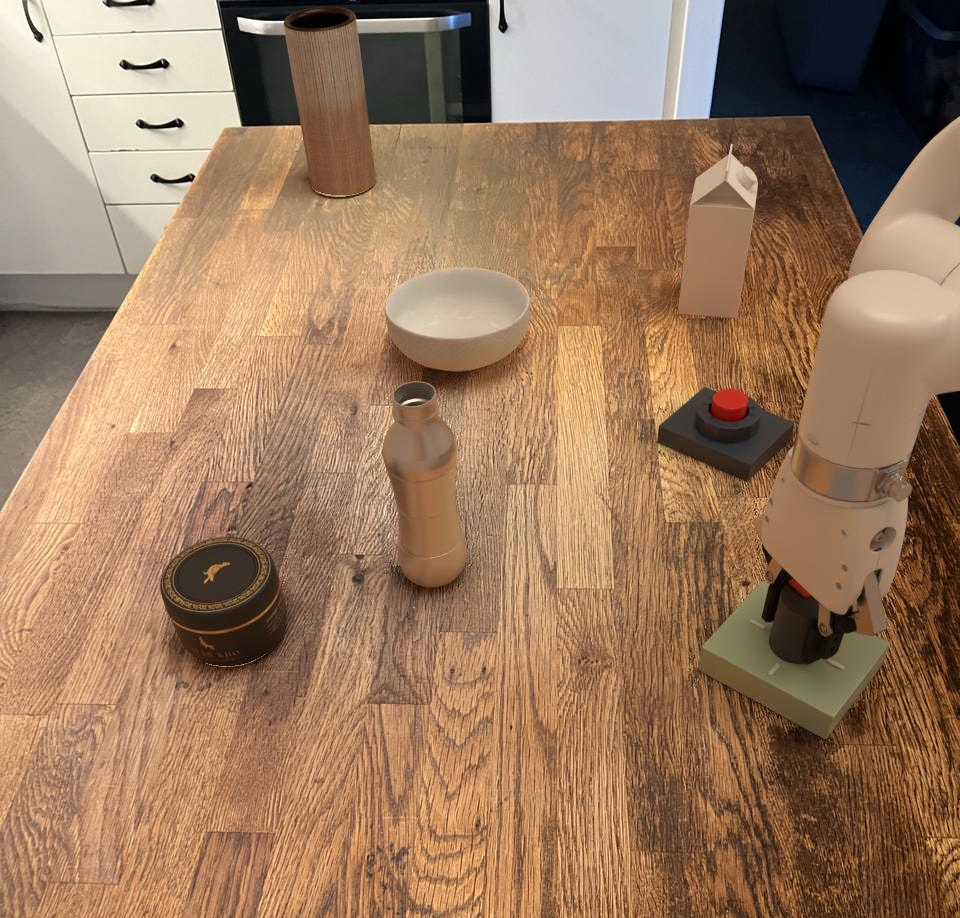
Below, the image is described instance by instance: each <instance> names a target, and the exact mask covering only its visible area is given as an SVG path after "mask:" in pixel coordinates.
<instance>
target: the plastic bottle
mask: <svg viewBox="0 0 960 918" xmlns="http://www.w3.org/2000/svg"><path fill="white" fill-rule="evenodd" d="M391 402H392V409H391V414H392V419H393V420H394V421H393V423H392V424H391V425H390V427H389V429H388V430H387V432H386V434H385V435H384V438H383V441H382V448H381V456H382V461H383V463H384V466H385V470H386V473H387V476H388V478H389V482H390V485H391V488H392V491H393V496H394V501H395V505H396V511H397V519H398V520H397V522H398V523H397V525H398V538H397V556H396V557H397V561H398V563H399V566H400V568H401V571H402V574H403V575H404V576H405V578H407V579H408V580H409V581H410V582H412V583H413V584H416V585H417V586H420V587H423V588H439V587H444V586H446V585H448V584H450V583H452V582H453V581H454V580H456V579H457V577H458V576H459V575H460V574H461V573H462V572H463V570H464V568H465V566H466V562H467V561H466V560H467V556H468V547H467V546H468V545H467V542H466V539H465V538H466V537H465V534H464V531H463V529H462V526H461V523H460V518H459V514H458V509H457V508H458V507H457V495H456V494H457V493H456V492H457V491H456V472H457V462H458V441H457V438H456V436H455V434H454V431H453V429H452V428H451V427H450V425H448V423H447V422H446V421H445V420H444V419H443V418H442V417H441V416H439V414H440V405H439V402H438V395H437V390H436V388H435V387H434V386H433V384H431V383H428V382H425V381H420V380H415V381H408V382H405V383H402V384H400V385H398V386H397V387H395V389H394V390H393V392H392V395H391Z"/></svg>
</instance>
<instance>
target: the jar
mask: <svg viewBox="0 0 960 918" xmlns="http://www.w3.org/2000/svg"><path fill="white" fill-rule="evenodd" d="M273 559H274V558H272V556H271V553H269V551H268V550H267V549H266V548H265V547H263V546H262V545H261V544H260V543H258V542H256V541H254V540H252V539H248V538H245V537H240V536H219V537H212V538H208V539H204V540H201V541H199V542H196V543H194V544H191V545H190V546H187V547H186V548H185V549H183V550H181V551H180V552H178V553H177V554H176V555H175V556H174V557H172V559H171V560H170V561H169V563H167V565H166V566H165V568H164V570H163V572H162V574H161V577H160V582H159V589H160V590H159V591H160V596H161V598H162V602H163V605H164V609H165V612H166V613H167V616H168V617H169V619H170V620H171V622H172V625H173V627H174V630H175V632H176V634H177V637H178V639H179V641H180V643H181V644H182V646H183V647H184V649H185V650H186V651H188V653H189V654H190V655H191V656H192V657H193V656H194V657H195V658H194V657H193V658H194V659H196V658H197V659H198V660H197V659H196V660H197V661H199V660H200V661H202V662H204V663H208V664H212V665H219V666H235V665H241V664H245V663H248V662H251V661H253V660H255V659H257V658H259V657H261V656H263V655H264V654H266V653H268V652H269V651H270V650H271V651H273V650H274V648H276V646H277V645H278V644H279V643H280V641H281V639H282V638H283V635H284V633H285V630H286V624H287V606H286V602H285V599H284V594H283V591H282V588H281V580H280V575H279V572H278V570H277V567H276V564H275V561H274V560H273ZM271 651H270V652H271ZM270 652H269V653H270ZM269 653H268V654H269ZM200 661H199V662H200ZM202 662H201V663H202ZM204 663H203V664H204Z"/></svg>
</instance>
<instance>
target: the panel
mask: <svg viewBox="0 0 960 918" xmlns="http://www.w3.org/2000/svg"><path fill="white" fill-rule="evenodd" d="M769 585H770V583H769V582H767V581H764V580H761V581H760V583H758V585H757V586H756V587H755V588H754V589H752V591H751V592H750V594H748V595H747V596H746V598H745V599H744V600H743V601H742V602H741V603H740V604H739V605H738V606H737V607H736V609H734V611H733V612H732V613H731V614H730V615H728V618H727V619H726V620H725V621H723V623H721V625H720V626H719V627H718V628H717V629H716V630H715V632H713V633H712V635H710V637H709V638H708V639H707V640H706V641H705V642H704V643H703V645H702V646H701V647H700V654H699V658H698V664H697V671H699V672H701V673H702V674H705V675H706V676H709V678H712V679H713V680H715V681H718V682H719V683H720V684H723V685H725V686H726V685H727V686H726V687H728V688H730V689H732V690H733V691H735V692H737V691H738V692H737V693H739V692H740V693H739V694H741V695H743V696H745V695H746V696H747V697H746V696H745V697H746V698H748V697H749V698H748V699H750V698H751V699H750V700H752V699H753V700H752V701H754V702H756V701H757V702H758V703H757V702H756V703H757V704H759V703H761V704H762V705H761V704H760V705H761V706H762V707H765V706H766V707H767V709H768V708H769V709H768V710H771V711H772V712H773V713H776V714H777V715H779V716H781V717H783V718H785V719H787V720H788V721H790V722H791V723H793V724H795V725H798V727H801V728H803V729H804V730H806V731H808V732H810V733H812V734H814V735H816V736H817V737H819V736H820V737H819V738H821V739H823V740H825V739H826V740H827V739H828V738H829V736H830V735H831V734H832V732H833V731H834V730H835V728H836V727H837V726H838V725H839V723H840V722H841V721H842V719H843V718H844V716H845V715H846V714H847V713H848V711H849V710H850V709H851V707H852V706H854V705H853V704H854V703H855V702H856V701H857V700H858V698H859V697H860V696H861V694H862V693H863V692H864V690H865V689H866V687H867V686H868V685H869V683H870V682H871V681H872V680H873V678H875V676H876V675H877V673H878V672H879V670H880V669H881V668H882V667H883V664H884V661H885V659H886V656H887V654H888V652H889V648H890V647H891V642H890V641H887V640H886V639H883V638H882V637H880V636H877V635H874V636H867V635H862V634H857V633H856V632H852V633H849V634H844V636H843V639H842V642H841V645H840V648H839V650H838V652H837V653H836V654H835V655H834V656H832V657H830V658H828V659H825V660H824V659H820V660H817V661H815V662H813V663H811V664H808V665H807V664H795V663H790V662H787V661H785V660H783V659H781V658H779V657H778V656H777V655H776V654H775V653H774V652H773V651H772V650H771V648H770V645H769V637H770V633H771V629H772V625H773V621H772V622H770V623H768V622H765V621H764V620H763V619H762V618H761V616H762V612H763V608H764V604H765V600H766V595H767V591H768V587H769ZM766 707H765V708H766Z"/></svg>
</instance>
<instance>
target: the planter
mask: <svg viewBox="0 0 960 918" xmlns="http://www.w3.org/2000/svg"><path fill="white" fill-rule="evenodd" d="M283 29H284V36H285V42H286V48H287V53H288V59H289V65H290V70H291V71H290V72H291V77H292V83H293V89H294V93H295V100H296V104H297V105H296V106H297V111H298V119H299V123H300V129H301V135H302V141H303V147H304V153H305V159H306V164H307V171H308V177H309V182H310V185H311V188H312V187H313V189H314V190H316V191H318V192H321V193H325V194H331V195H352V194H357V193H360V192H363V191H366V190H368V189H369V188H371V187H372V186H373V187H374V185H375V184H376V182H377V181H376V169H375V168H376V167H375V161H374V152H373V144H372V137H371V127H370V120H369V111H368V105H367V95H366V87H365V79H364V71H363V63H362V62H363V61H362V54H361V47H360V38H359V30H358V21H357V16H356V13H354V12H353V11H352V10H351V9H349V8H345V7H339V6H317V7H310V8H305V9H301V10H298V11H295V12H293V13H290V14H289V15H288V16H287V17H285V19H284V20H283ZM373 187H372V188H373ZM372 188H371V189H372ZM313 189H312V190H313ZM314 190H313V191H314ZM369 190H370V189H369ZM369 190H368V191H369ZM366 192H367V191H366Z"/></svg>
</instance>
